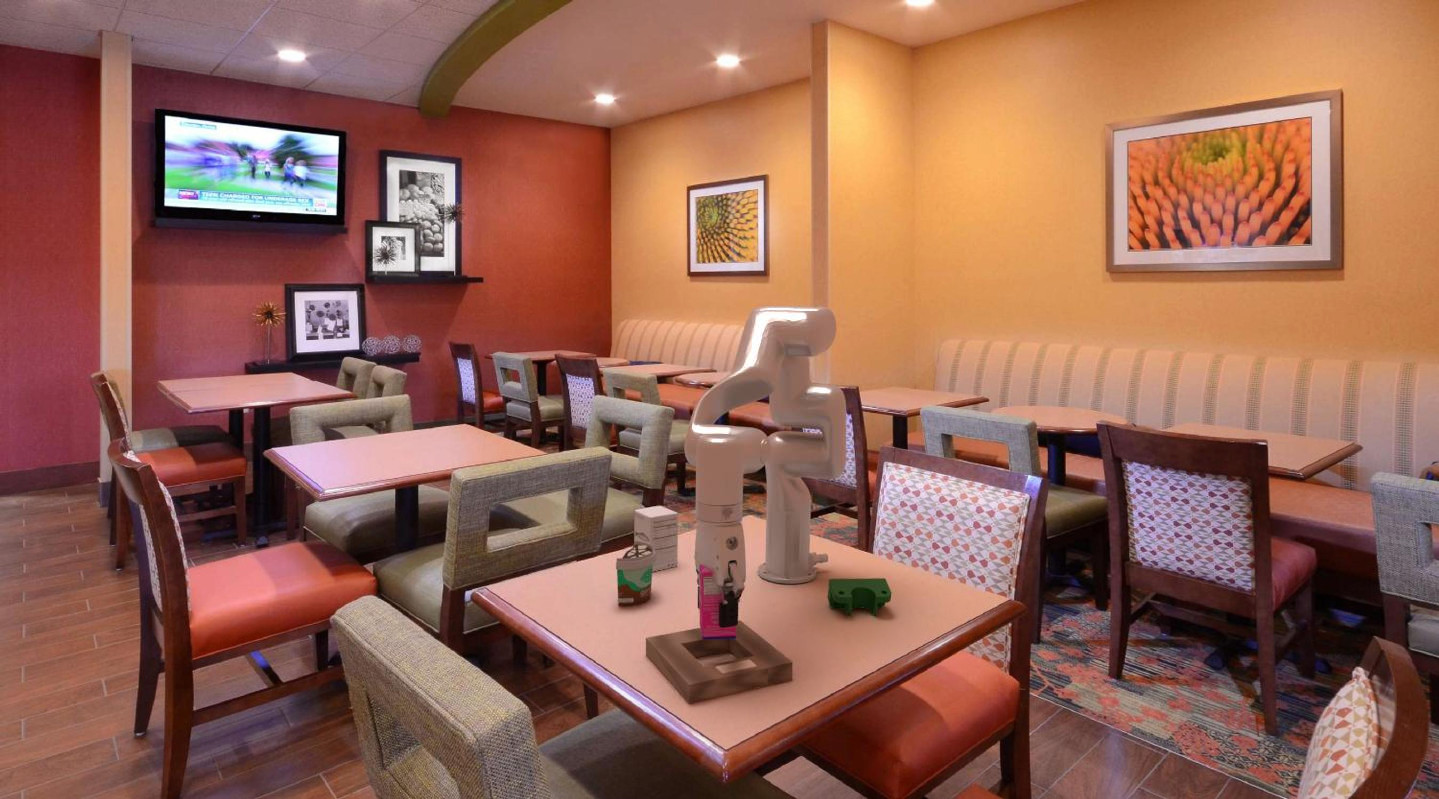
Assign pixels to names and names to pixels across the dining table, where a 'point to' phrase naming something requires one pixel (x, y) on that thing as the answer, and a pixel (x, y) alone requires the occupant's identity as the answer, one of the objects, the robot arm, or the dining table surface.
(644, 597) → the food container
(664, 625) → the dining table surface
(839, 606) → the clamp
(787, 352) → the robot arm
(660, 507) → the supplement box
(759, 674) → the hole board
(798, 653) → the dining table surface
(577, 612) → the dining table surface
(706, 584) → the supplement box
